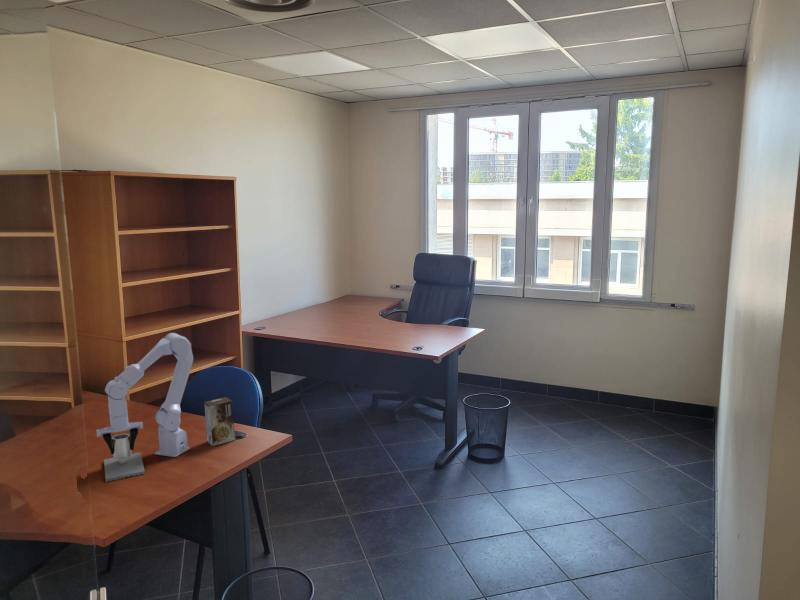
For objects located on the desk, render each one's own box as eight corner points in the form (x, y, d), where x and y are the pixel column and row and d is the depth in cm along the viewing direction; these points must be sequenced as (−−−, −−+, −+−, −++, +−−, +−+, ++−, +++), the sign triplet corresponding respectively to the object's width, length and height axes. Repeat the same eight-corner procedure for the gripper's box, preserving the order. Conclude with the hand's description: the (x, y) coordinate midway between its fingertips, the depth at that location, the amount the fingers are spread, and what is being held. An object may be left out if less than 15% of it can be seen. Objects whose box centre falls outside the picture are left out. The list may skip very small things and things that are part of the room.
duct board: (140, 454, 214) (139, 444, 213) (145, 473, 198) (143, 462, 197) (104, 462, 208) (103, 451, 207) (105, 482, 192) (104, 470, 192)
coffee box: (229, 435, 230) (226, 396, 228) (235, 440, 225) (232, 400, 223) (206, 441, 225) (203, 401, 222) (212, 446, 220) (209, 405, 217)
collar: (135, 453, 207) (133, 434, 206) (123, 459, 202) (121, 440, 201) (122, 451, 208) (120, 433, 208) (110, 458, 203) (108, 438, 202)
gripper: (139, 407, 210) (143, 443, 212) (94, 415, 203) (98, 452, 205) (142, 413, 204) (145, 449, 206) (95, 421, 196) (99, 459, 199)
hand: (122, 451), depth 205 cm, fingers closed on collar, 6 cm apart
